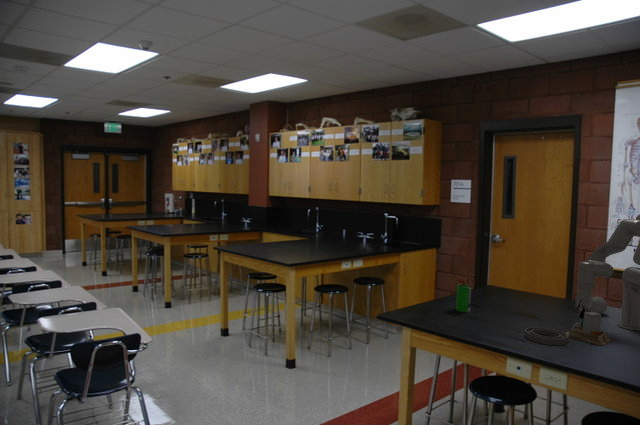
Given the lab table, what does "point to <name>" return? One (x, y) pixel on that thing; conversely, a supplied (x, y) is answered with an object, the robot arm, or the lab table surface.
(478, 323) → the lab table surface
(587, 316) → the skincare box
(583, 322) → the gate
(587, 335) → the rest
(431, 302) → the lab table surface
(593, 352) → the lab table surface
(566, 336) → the mechanical component
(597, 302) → the eye model
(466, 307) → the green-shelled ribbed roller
